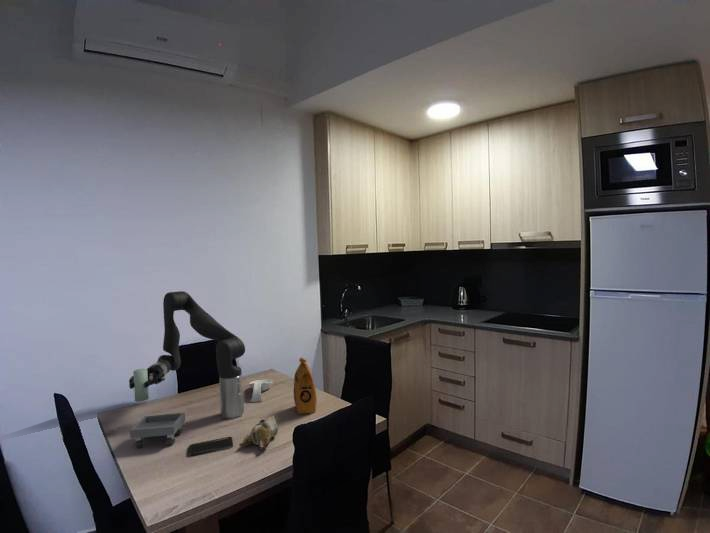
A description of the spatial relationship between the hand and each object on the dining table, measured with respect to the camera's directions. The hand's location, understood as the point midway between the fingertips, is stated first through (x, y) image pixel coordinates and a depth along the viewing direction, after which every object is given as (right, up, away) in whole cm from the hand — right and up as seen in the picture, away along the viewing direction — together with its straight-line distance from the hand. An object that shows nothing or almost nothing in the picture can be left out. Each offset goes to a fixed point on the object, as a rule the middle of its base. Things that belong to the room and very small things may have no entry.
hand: (138, 385), depth 151 cm
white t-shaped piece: (+40, -16, +37) cm, 57 cm away
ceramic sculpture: (+54, -17, -14) cm, 58 cm away
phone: (+36, -18, -16) cm, 43 cm away
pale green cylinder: (0, -6, +3) cm, 7 cm away
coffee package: (+66, -16, +15) cm, 70 cm away
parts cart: (+14, -18, -10) cm, 24 cm away
